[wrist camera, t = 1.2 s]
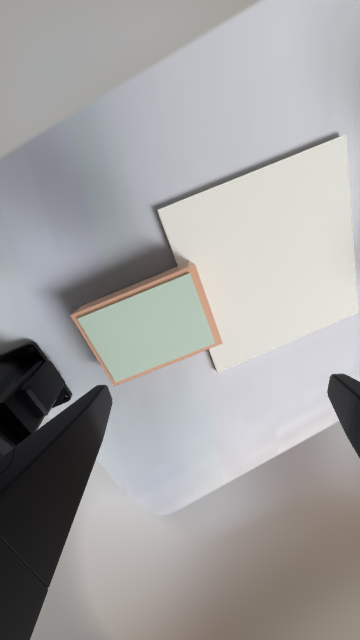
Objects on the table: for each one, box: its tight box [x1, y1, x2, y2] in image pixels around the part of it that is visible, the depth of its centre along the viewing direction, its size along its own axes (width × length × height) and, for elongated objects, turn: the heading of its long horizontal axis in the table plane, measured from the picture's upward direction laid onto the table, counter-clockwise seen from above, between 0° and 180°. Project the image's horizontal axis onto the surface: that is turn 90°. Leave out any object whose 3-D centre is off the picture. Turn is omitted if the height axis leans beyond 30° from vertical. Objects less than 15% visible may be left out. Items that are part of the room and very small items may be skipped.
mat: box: [157, 134, 359, 373], centre depth 20 cm, size 16×16×1 cm
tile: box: [70, 262, 223, 386], centre depth 19 cm, size 3×7×10 cm
